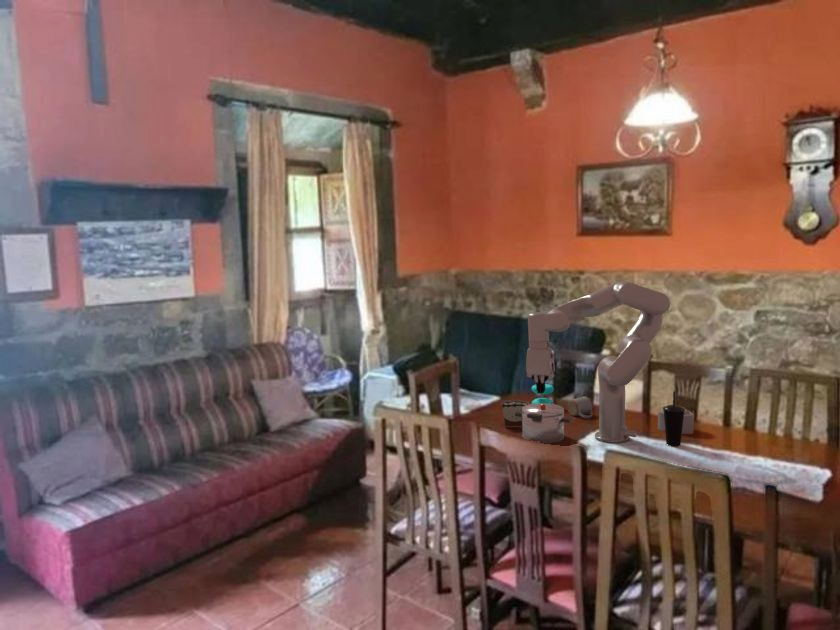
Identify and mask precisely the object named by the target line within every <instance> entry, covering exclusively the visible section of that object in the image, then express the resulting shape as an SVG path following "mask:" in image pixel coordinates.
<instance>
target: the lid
mask: <svg viewBox="0 0 840 630" xmlns="http://www.w3.org/2000/svg"><path fill="white" fill-rule="evenodd" d="M522 413H523V414H525V415H527V418H533V419H541V418H542V417H543V418H545V417H556V416H560V415H562V414H563V413H564V414H565V408H564V407H563V406H561V405H559V404H555V403H554V404H547V403H536V404H532V403H531V404H529V405H526V406H523V407H522Z"/></svg>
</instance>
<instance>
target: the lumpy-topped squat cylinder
mask: <svg viewBox="0 0 840 630" xmlns="http://www.w3.org/2000/svg"><path fill="white" fill-rule="evenodd" d="M682 407H683V408H685V407H684V406H682ZM694 416H695V415H694V413H693V412H692V411H689V410H688V409H686V408H685V411H684V418H683V427H682V435H691V434H693V433H694V420H695V419H694V418H695V417H694ZM657 430H660V431H662V432H665V420H664V410H663V408H661V409H659V410H658V411H657Z"/></svg>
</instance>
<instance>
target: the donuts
mask: <svg viewBox="0 0 840 630" xmlns="http://www.w3.org/2000/svg"><path fill="white" fill-rule="evenodd" d="M554 389H555V388H554V386H553V385H552V384H549V383H545V391H544V393H542V394H541V393H538V391H537V390H536V384H534V385H532V386H531V391H532V393H534V394H536V395H540V396H541V395H543V396H544V395H545V396H546V395H550V394H552V393H553V392H554ZM536 403H547V404H555V403H554V401H553V400H552V399H550V398H546V397H537V398H535V399H533V400H532V401H531V404H536Z"/></svg>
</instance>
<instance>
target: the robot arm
mask: <svg viewBox="0 0 840 630" xmlns="http://www.w3.org/2000/svg"><path fill="white" fill-rule="evenodd" d="M624 305H625V306H627V307H629V308H632V309H634V310H638V311H639V316H638V318H637V320H636V322H635V324H634V325H633V326H632V327H631V328H630V330H628V332H627V333H626V334H625V335H624V337H623V338H622V339H621V340H620V341H619V344H618V347H617V349H618V353H619V355H618V356H613V355H609V356H608V355H607V356H605V357H603V358H602V359H601V360H600V361H599V364H598V366H597V376H598V386H599V387H598V389H599V390H598V392H599V395H598V396H599V397H598V398H599V399H598V403H599V404H598V406H599V407H598V414H599V415H598V418H599V419H598V431H597V432H595V433H594V438H595V439H596V440H597V441H598V440H599V441H601V442H606V443H613V444H614V443H616V444H617V443H624V442H628V441H629V439H630V437H631V438H637V434H638V433H637V432H636V431H635V430H633V429H632V430H631V429H630V430H629V429H628V425H626V386H627V385H628V384H630V383H631V382H632V381H633V380H634V379H635V377H636V376H637V375H638V374H639V372H640V371H642V369H643V368H644V367H645V366H646V364H648V362H649V360H650V359H651V357H652V352H653V351H652V346H651V343H652V341H653V340H654V338H655V337H656V336H657V335H658V333H659V332H660V330H661V327H662V326H663V325H662V323H663V315H665V314H667V312H669V309H670V307H671V301H670V297H668V296H667V295H666V294H665V293H663V292H660V291H657V290H653V289H650V288H649V287H648V288H647V287H644V286H642V285H639V284H636V283H634V282H632V281H631V282H630V281H625V280H621V281H617V282H615V283H614V282H613V284H611V285H607V286H605V287H603V288H601V289H599V290H597V291H595V292H592V293H590V294H588V295H585V296H584V295H583V296H582V297H580V298H579V297H578V298H577V299H573V300H571V301H568V302H566V303H563V304H561V305H559V306H557V307H555V308H553V309H552V308H551V310H549V311H548V312H547V313H546V312H544V311H543V312H541V311H537V312H536V311H535V312H530V313H529V314H528V316H527V327H528V328H527V329H528V332H527V333H528V348H527V350H526V351H527V352H526V360H525V370H526V377H527V378H531V379H532V380H534V383H535V385H536V390H537V391H538V393H541V394H542V393H544V391H545V384H546V382H547V381H548V380H551V379H554V378H555V374H554V373H555V372H556V367H555V359H554V358H555V357H554V353H553V350H552V349H553V348H552V347H553V346H554V343H553V342H551V341H550V332H555V333H556V332H558V333H561V332H565V331H567V330H568V329H569V328H570V326H571V322H573V321H576V320H580V319H583V318H592V317H598V316H601V315H603V314H605V313H607V312H610V311H611V310H614V309H616V308H619V307H621V306H624Z"/></svg>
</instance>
